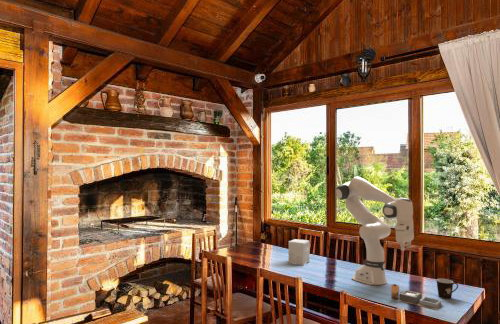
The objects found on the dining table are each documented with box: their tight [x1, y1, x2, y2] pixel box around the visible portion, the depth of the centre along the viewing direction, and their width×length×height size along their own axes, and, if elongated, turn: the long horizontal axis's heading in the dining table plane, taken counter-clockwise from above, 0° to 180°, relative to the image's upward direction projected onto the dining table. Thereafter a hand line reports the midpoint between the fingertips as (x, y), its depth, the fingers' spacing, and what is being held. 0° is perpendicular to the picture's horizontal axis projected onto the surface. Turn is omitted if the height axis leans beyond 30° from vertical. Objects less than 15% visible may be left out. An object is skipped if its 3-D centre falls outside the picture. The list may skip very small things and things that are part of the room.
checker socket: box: [398, 289, 423, 305], centre depth 201 cm, size 9×9×4 cm
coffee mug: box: [435, 278, 459, 300], centre depth 207 cm, size 12×9×10 cm
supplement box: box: [288, 238, 310, 266], centre depth 288 cm, size 13×13×18 cm
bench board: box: [397, 299, 443, 311], centre depth 198 cm, size 20×11×1 cm, turn 47°
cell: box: [390, 283, 400, 301], centre depth 204 cm, size 4×4×9 cm
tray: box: [419, 296, 442, 310], centre depth 194 cm, size 9×9×2 cm
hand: (405, 249), depth 209 cm, fingers open, 8 cm apart
